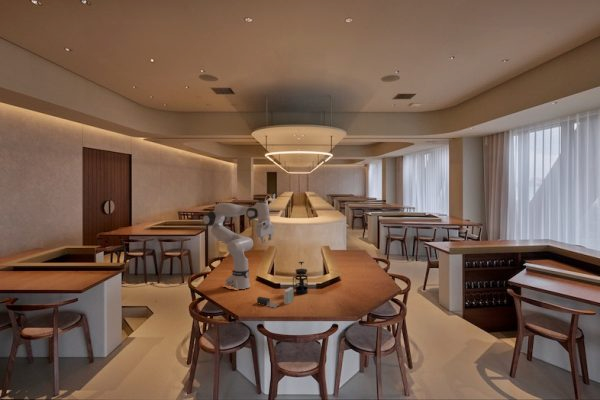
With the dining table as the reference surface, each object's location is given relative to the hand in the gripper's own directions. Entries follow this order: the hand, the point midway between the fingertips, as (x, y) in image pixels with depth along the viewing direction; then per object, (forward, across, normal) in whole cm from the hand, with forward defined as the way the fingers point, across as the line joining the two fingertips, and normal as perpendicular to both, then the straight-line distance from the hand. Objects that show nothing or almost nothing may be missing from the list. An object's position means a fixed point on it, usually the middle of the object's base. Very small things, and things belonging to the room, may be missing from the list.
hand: (266, 241), depth 232 cm
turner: (+40, +22, +9) cm, 46 cm away
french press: (+41, -9, +19) cm, 46 cm away
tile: (+41, +12, +20) cm, 47 cm away
